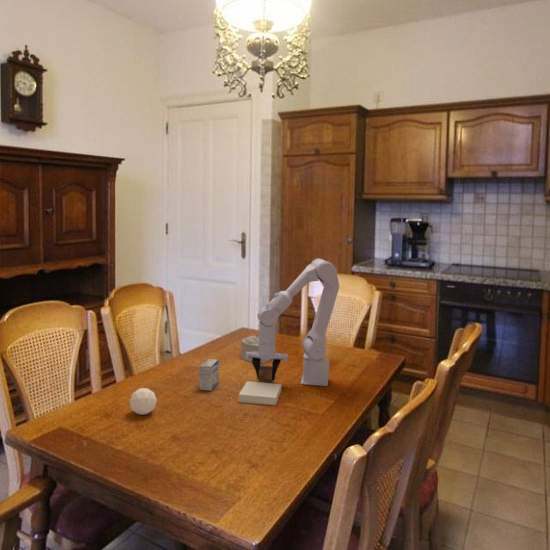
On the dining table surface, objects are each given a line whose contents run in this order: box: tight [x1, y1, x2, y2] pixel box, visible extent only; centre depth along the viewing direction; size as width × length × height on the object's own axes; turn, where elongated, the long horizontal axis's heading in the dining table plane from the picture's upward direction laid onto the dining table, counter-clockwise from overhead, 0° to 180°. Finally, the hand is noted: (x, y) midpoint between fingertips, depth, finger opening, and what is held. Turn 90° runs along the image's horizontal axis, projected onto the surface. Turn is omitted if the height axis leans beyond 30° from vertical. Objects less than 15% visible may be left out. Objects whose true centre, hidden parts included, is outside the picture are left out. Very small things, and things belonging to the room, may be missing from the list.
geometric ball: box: [129, 387, 158, 416], centre depth 148 cm, size 8×8×8 cm
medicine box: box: [198, 358, 220, 392], centre depth 170 cm, size 8×4×9 cm, turn 168°
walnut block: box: [258, 364, 275, 384], centre depth 173 cm, size 5×5×6 cm
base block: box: [238, 380, 282, 406], centre depth 163 cm, size 12×12×3 cm
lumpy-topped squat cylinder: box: [241, 335, 270, 364], centre depth 202 cm, size 10×13×9 cm
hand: (266, 379), depth 174 cm, fingers closed on walnut block, 5 cm apart
